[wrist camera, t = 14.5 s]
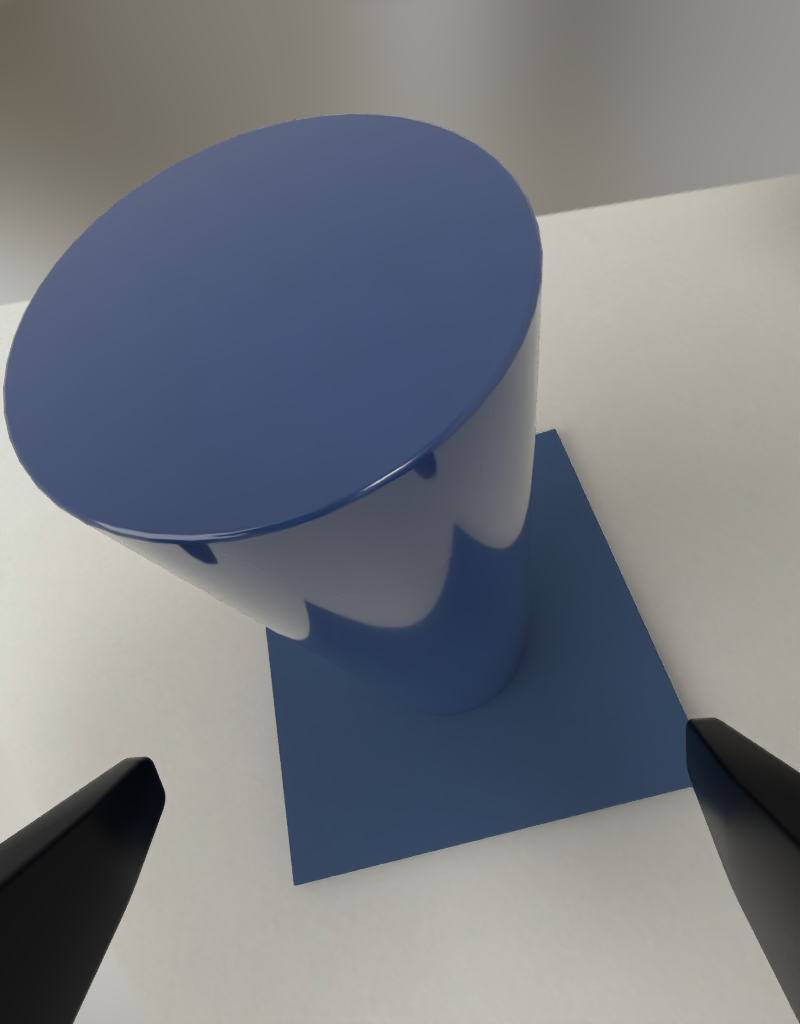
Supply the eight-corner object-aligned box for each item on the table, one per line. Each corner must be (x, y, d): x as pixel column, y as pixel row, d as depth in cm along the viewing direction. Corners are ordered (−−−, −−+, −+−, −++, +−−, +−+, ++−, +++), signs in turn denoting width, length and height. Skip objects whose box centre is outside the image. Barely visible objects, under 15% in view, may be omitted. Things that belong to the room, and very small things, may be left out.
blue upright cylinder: (530, 720, 16) (563, 535, 3) (354, 711, 17) (-95, 545, 5) (524, 549, 18) (531, 71, 6) (370, 551, 19) (98, 155, 7)
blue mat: (298, 883, 16) (293, 886, 15) (258, 525, 21) (253, 521, 21) (711, 780, 15) (715, 780, 14) (554, 434, 20) (555, 428, 20)
